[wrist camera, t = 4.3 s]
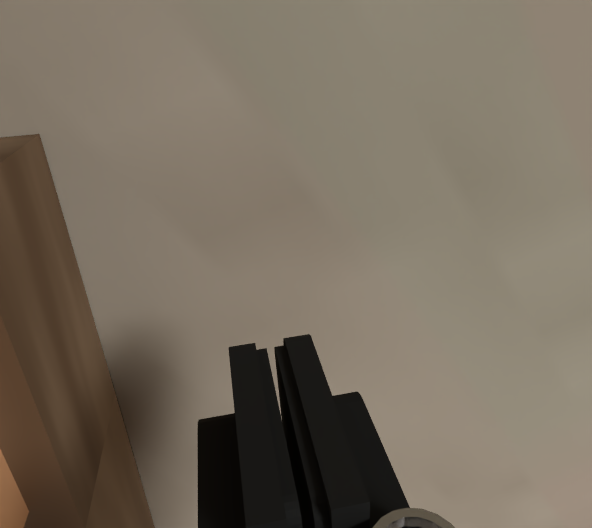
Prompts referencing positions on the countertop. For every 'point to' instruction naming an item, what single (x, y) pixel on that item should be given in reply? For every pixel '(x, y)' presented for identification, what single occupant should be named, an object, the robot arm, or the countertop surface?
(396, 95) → the countertop surface
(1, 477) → the block
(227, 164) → the countertop surface
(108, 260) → the countertop surface
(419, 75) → the countertop surface
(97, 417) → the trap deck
